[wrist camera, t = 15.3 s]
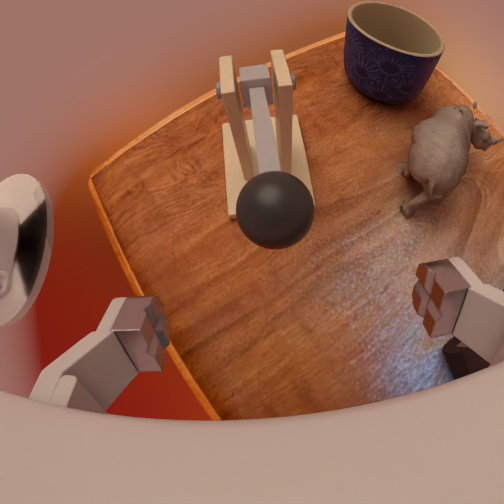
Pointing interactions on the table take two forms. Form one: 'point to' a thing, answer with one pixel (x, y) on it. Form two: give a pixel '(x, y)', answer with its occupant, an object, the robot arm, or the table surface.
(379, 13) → the planter
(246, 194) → the lever
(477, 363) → the book
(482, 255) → the table surface
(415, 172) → the rhinoceros figurine
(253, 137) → the bracket
